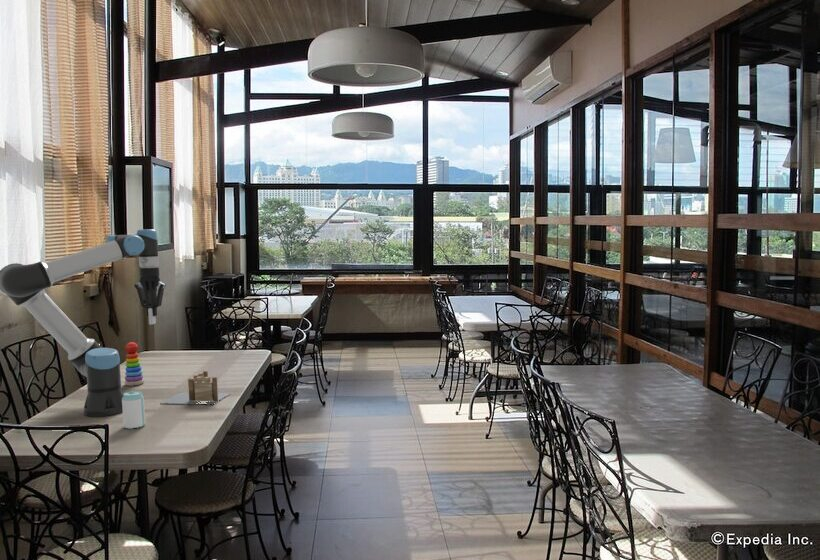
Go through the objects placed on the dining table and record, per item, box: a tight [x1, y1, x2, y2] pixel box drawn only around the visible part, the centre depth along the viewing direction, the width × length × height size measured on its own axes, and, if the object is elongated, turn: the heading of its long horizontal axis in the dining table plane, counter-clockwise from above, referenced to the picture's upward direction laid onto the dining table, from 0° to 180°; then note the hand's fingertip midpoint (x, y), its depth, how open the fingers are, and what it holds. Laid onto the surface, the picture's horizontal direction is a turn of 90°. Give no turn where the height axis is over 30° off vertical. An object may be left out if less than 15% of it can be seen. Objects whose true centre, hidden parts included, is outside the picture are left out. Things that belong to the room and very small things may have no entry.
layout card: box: [160, 392, 231, 406], centre depth 269 cm, size 16×22×1 cm
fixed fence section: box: [187, 376, 219, 401], centre depth 265 cm, size 2×12×10 cm, turn 81°
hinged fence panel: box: [193, 370, 209, 382], centre depth 272 cm, size 2×9×9 cm, turn 164°
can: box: [122, 390, 146, 430], centre depth 234 cm, size 7×7×12 cm
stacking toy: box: [124, 341, 145, 387], centre depth 296 cm, size 8×8×19 cm
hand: (152, 323), depth 277 cm, fingers closed
